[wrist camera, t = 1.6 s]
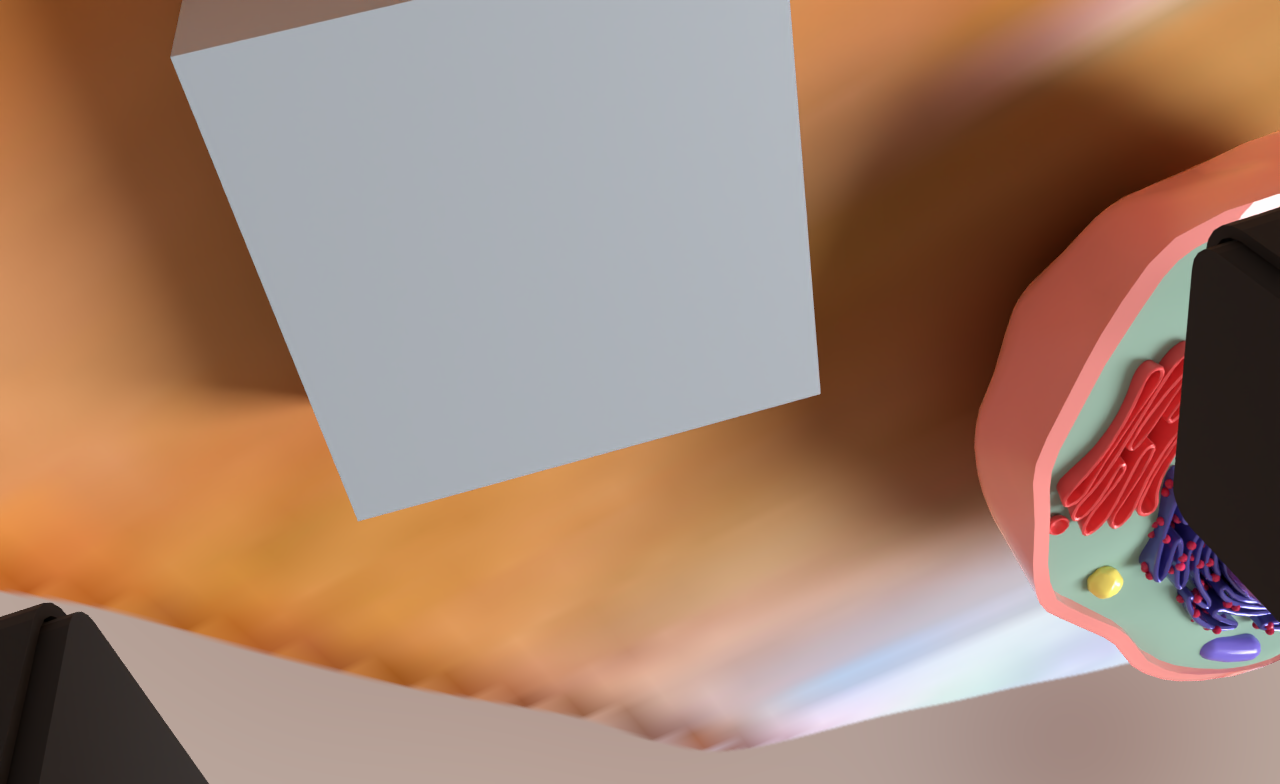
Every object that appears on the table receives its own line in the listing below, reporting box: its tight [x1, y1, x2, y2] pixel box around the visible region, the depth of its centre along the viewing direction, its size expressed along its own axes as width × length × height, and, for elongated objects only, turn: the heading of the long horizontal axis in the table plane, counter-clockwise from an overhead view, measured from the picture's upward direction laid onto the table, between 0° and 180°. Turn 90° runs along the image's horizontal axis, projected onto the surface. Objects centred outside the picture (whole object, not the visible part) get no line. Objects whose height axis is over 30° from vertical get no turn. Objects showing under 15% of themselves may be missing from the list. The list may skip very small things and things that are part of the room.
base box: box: [170, 0, 821, 521], centre depth 31 cm, size 13×13×6 cm
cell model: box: [974, 130, 1280, 681], centre depth 38 cm, size 17×20×11 cm
